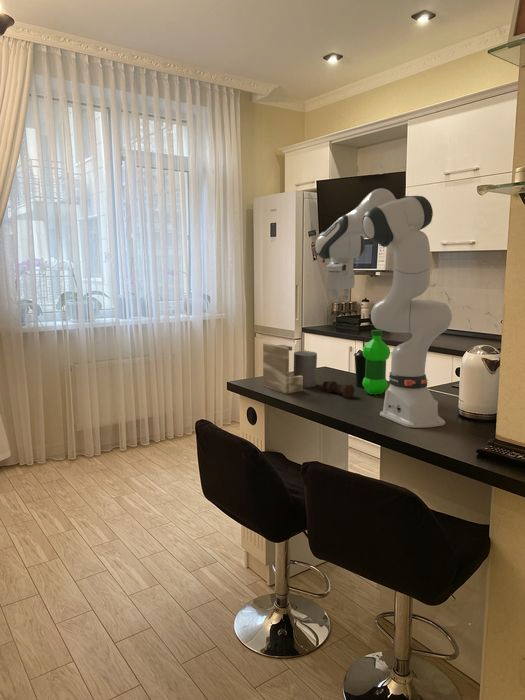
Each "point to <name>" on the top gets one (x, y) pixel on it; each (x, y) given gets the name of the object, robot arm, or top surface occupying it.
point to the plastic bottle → (375, 364)
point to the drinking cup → (360, 367)
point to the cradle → (279, 369)
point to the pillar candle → (306, 367)
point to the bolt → (339, 388)
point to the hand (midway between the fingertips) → (341, 300)
